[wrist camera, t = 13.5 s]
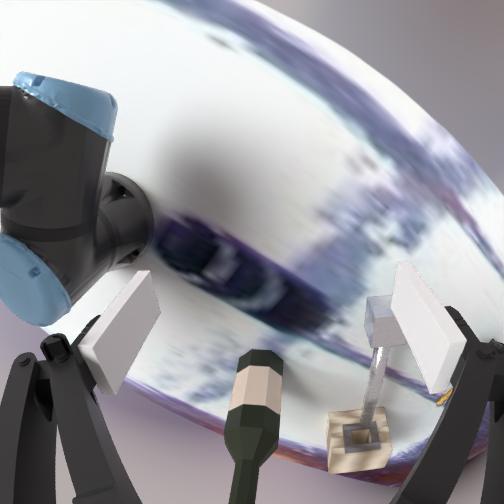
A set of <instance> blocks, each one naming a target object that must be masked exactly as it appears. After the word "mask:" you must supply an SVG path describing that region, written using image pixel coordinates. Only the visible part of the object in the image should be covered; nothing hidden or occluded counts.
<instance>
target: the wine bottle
mask: <svg viewBox="0 0 504 504" xmlns="http://www.w3.org/2000/svg"><path fill="white" fill-rule="evenodd" d="M282 373H283V360H282V359H281V358H279V357H278V356H277V355H276V354H275V353H273V352H272V351H271V350H256V349H252V350H250V351H249V352H247V353H246V354H244V355H243V356H241V357H240V358H239V363H238V368H237V373H236V378H235V382H234V387H233V392H232V397H231V401H230V406H229V411H228V415H227V420H226V425H225V429H224V439H225V444H226V447H227V448H228V450H229V452H230V454H231V456H232V458H233V460H234V462H235V471H234V476H233V482H232V487H231V493H230V498H229V504H255V499H256V491H257V483H258V475H259V467H260V466H261V465H262V464H263V463H264V462H265V461H266V460H267V459H268V458H269V457H270V456H271V455H272V454H273V453H274V451H275V450H276V449H277V448H278V440H279V427H280V411H281V393H282Z"/></svg>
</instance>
